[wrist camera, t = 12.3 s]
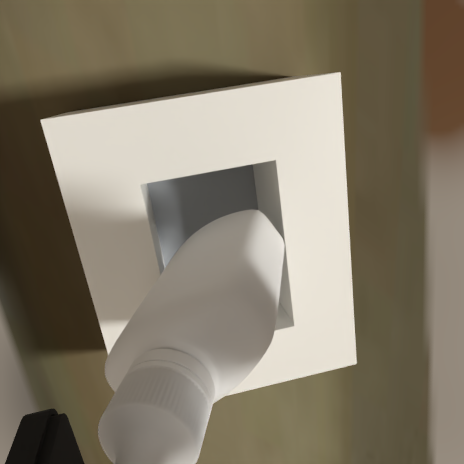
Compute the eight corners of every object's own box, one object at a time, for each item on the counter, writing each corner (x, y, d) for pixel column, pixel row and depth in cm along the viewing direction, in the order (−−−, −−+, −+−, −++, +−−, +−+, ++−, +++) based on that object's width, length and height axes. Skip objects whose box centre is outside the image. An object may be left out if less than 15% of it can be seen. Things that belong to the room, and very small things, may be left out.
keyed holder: (69, 111, 21) (40, 119, 16) (293, 76, 23) (340, 72, 17) (132, 348, 26) (127, 419, 20) (314, 307, 27) (356, 363, 22)
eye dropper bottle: (291, 294, 20) (277, 583, 9) (175, 300, 21) (31, 565, 10) (280, 203, 18) (248, 413, 7) (156, 215, 19) (-38, 414, 8)
